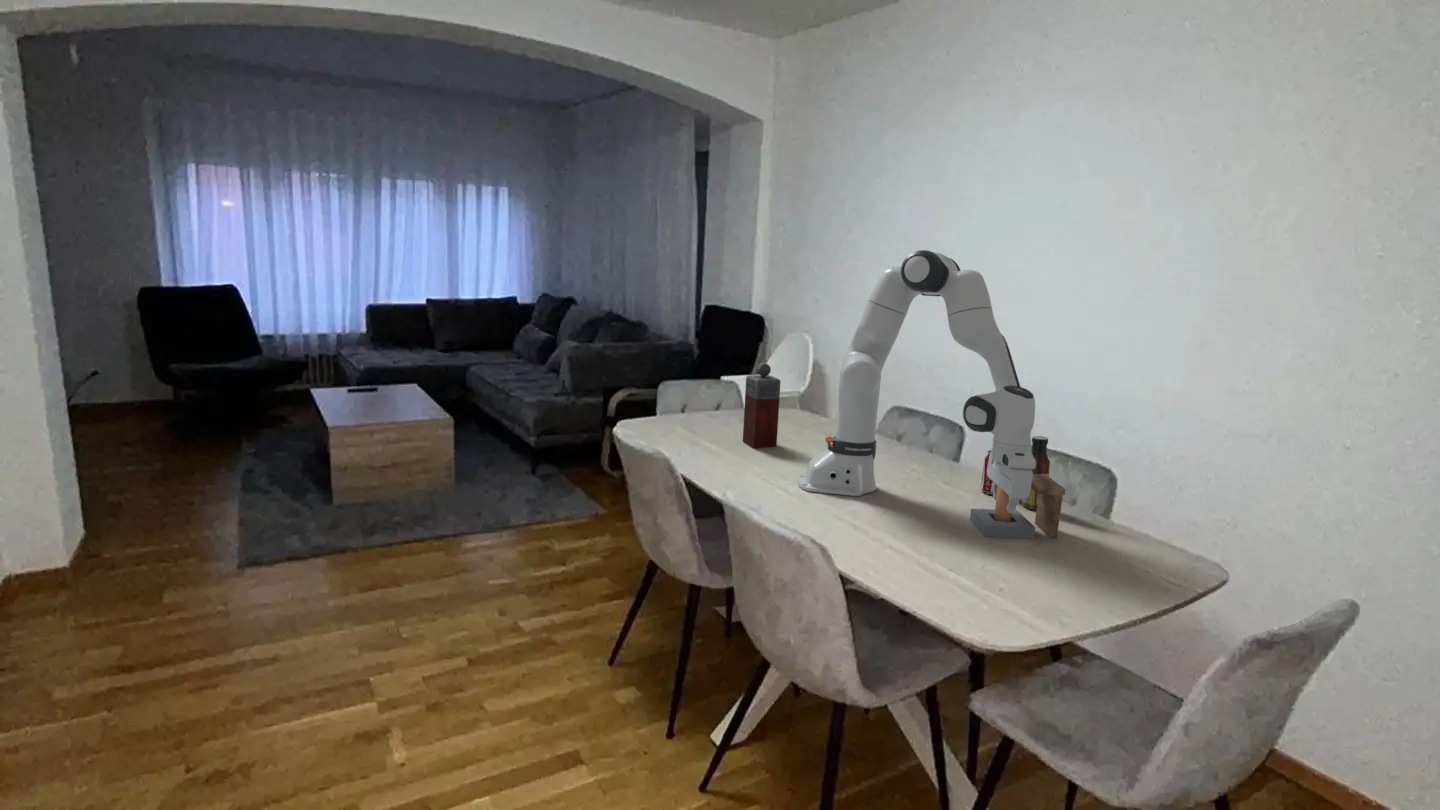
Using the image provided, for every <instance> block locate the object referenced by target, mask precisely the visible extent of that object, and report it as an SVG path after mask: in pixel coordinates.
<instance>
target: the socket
mask: <svg viewBox="0 0 1440 810" xmlns="http://www.w3.org/2000/svg"><path fill="white" fill-rule="evenodd" d="M994 514H995V509H988V508H987V509H986V508H985V509H984V508H970V516H969V521H971V523H972V524H973V525H974V526H975V527H976V528H977V530H978V531H979V532H980V533H981V534H982V535H983V536H984V537H985V538H1002V539H1003V538H1004V539H1005V538H1007V539H1023V540H1024V539H1026V540H1030V539H1031V540H1034V539H1035V532H1036V525H1035V526H1034V525H1033V524H1032V523H1031V522H1030V520H1028V519H1027V518H1026V517H1025V516H1024V514H1022V513H1020V511H1018V510H1016V511H1015V513H1012V515H1011V522H1004V521H994Z"/></svg>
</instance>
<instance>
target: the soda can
mask: <svg viewBox="0 0 1440 810" xmlns="http://www.w3.org/2000/svg"><path fill="white" fill-rule="evenodd" d="M991 452H992V449H990V450H987V454H985V456H984V459H983V465H982V468H983V469H982V476H981V484H980V491H982V492H986V493H987V494H986V493H985V494H986V495H989V494H991V495H990V496H993V494H994V491H993V481H992V480H991V479H990V478H989V477H988V476H987V467H988V461H989V456H990V453H991Z"/></svg>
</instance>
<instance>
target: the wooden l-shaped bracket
mask: <svg viewBox="0 0 1440 810" xmlns="http://www.w3.org/2000/svg"><path fill="white" fill-rule="evenodd" d="M1031 489H1032V490H1034V491H1035V492H1036V493H1037V494H1039V497H1038V504H1037V511H1036V510H1035V511H1036V513H1035V520H1034V525H1035V526H1036V527H1037V528H1039V529H1040V530H1041V531H1042V532H1043V533H1044V534H1045V535H1046V536H1048V538H1050V539H1057V537H1058V531H1059V525H1060V518H1061V511H1062V504H1063V496H1065V495H1066V488H1065V487H1063V486H1062V485H1061V484H1059V483H1058V482H1057V481H1055V480H1054V479H1052V478H1051V477H1050V476H1049V477H1048V476H1047V475H1043V474H1033V477H1032V484H1031Z"/></svg>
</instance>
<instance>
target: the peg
mask: <svg viewBox="0 0 1440 810" xmlns="http://www.w3.org/2000/svg"><path fill="white" fill-rule="evenodd" d="M1008 503H1009V495H1007V494H1006V493H1005V492H1004V491H1003V490H1002V489H1001V488H1000V483H999V482H998V489H997V497H996V500H995V506H994V507H995V508H994V510H995V514H994V521H1004V522H1011V515H1012V513H1008V512H1007V511H1006V506H1007V504H1008Z"/></svg>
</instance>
